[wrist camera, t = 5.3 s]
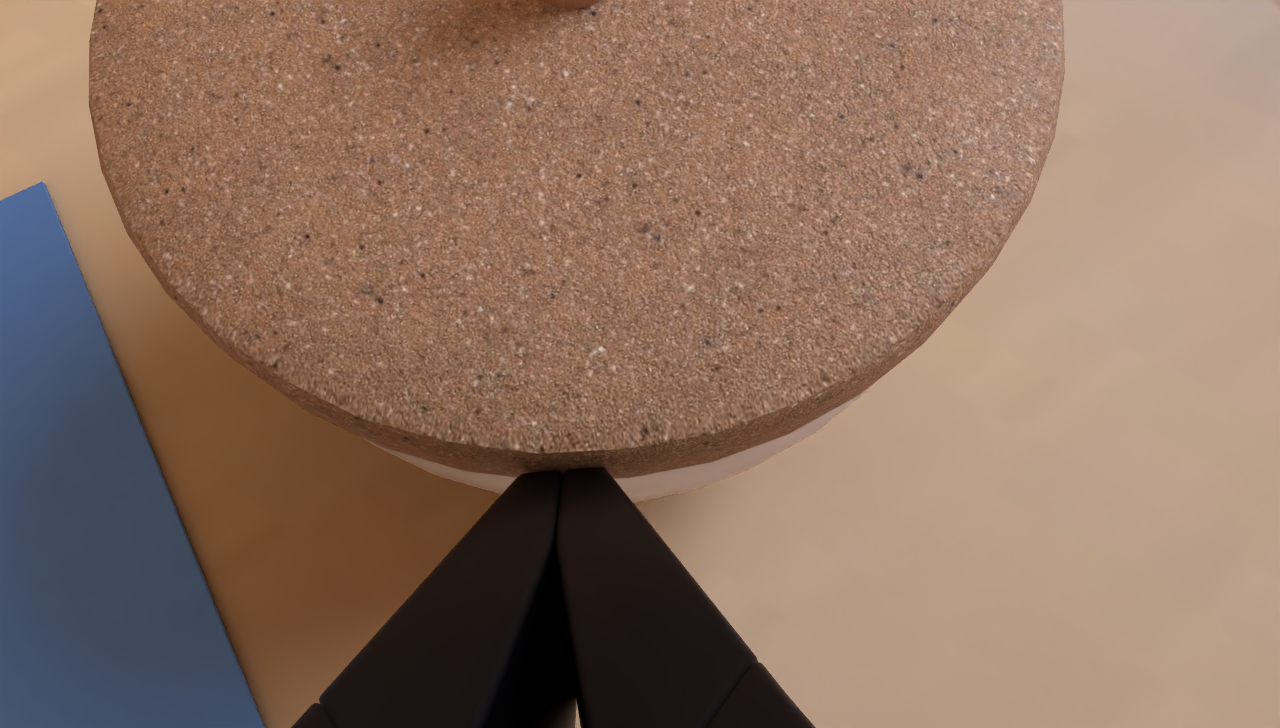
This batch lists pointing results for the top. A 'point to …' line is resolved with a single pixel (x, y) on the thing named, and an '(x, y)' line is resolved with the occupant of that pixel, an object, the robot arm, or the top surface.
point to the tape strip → (90, 521)
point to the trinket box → (573, 208)
